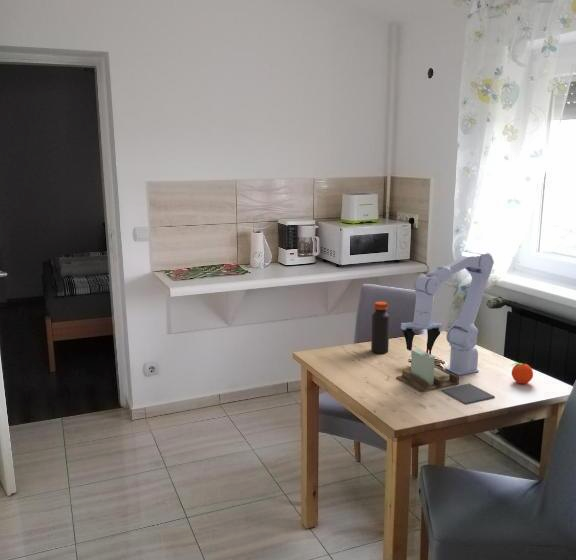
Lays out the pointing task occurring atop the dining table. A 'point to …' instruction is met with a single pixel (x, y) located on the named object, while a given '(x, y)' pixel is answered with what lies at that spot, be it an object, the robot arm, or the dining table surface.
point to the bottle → (380, 329)
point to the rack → (423, 385)
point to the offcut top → (440, 374)
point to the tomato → (522, 373)
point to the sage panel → (423, 365)
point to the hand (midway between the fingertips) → (419, 349)
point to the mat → (467, 393)
